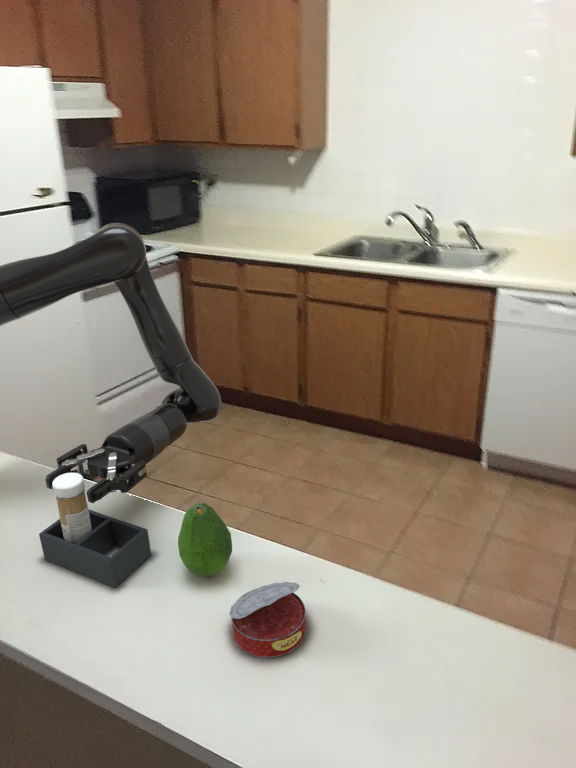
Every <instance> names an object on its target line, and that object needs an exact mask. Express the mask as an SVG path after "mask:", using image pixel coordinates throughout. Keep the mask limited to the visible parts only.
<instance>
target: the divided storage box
mask: <svg viewBox="0 0 576 768" xmlns="http://www.w3.org/2000/svg"><path fill="white" fill-rule="evenodd" d="M88 510H89V515H90V520H91V526H92V531H91V532H90V533H89V534H87V535H86V536H85V537H83V538H82V539H81V540H80V541H78V542H77V543H76V544H74V543H71V542H69V541H66V540H65V539H64V536H63V531H62V526H61V521H60V518H58V519H57V520H56V521H54V522H53V523H51V524H50V525H49V526H47V527H46V528H45V529H43V530H42V531H41V532H40V533H38V536H39V541H40V545H41V549H42V555H43V558H44V560H45V561H47V562H50V563H52V564H53V565H54V564H55V565H57V566H59V567H62V568H63V569H67V570H70V571H71V572H74V573H77V574H79V575H81V576H84V577H87V578H89V579H92V580H94V581H97V582H99V583H102V584H104V585H107V586H109V587H112V588H114V589H116V588H117V587H118V586H119V585H120V584H122V583H123V582H124V581H125V580H127V578H128V577H130V575H132V574H133V573H134V572H135V570H137V569H138V568H139V567H140V566H141V565H142V564H143V563H145V562H147V560H148V559H149V558H150V557H152V550H151V544H150V537H149V530H148V528H145V527H142V526H139V525H135V524H133V523H130V522H127V521H124V520H121V519H119V518H115V517H113V516H109V515H106V514H103V513H101V512H98V511H95V510H92V509H89V508H88ZM114 547H117V548H119V549H118V550H116V552H114V553H113V554H112V555H111V556H109V555H105V554H106V553H108V552H109V551H110V550H112V548H114Z"/></svg>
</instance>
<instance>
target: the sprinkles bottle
mask: <svg viewBox="0 0 576 768" xmlns="http://www.w3.org/2000/svg"><path fill="white" fill-rule="evenodd" d="M52 486H53V489H52V491H53V494H54V497H56V498H55V499H56V504H57V508H58V515H59V519H60V521H61V526H62V531H63V536H64V539H65V540H66V541H69V542H71V543H74V544H76V543H77V542H78V541H80V540H81V539H82V538H83V537H85V536H86V535H87V534H89V533H90V532H91V531H92V526H91V520H90V515H89V510H90V509H89V505H88V500H87V495H86V484H85V479H84V477H83V476H82V475H80V474H78V473H65V474H62V475H60V476H58V477H57V478H55V479H54V481H53V483H52ZM88 509H89V510H88Z"/></svg>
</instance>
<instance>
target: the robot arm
mask: <svg viewBox="0 0 576 768" xmlns="http://www.w3.org/2000/svg"><path fill="white" fill-rule="evenodd" d="M146 248H147V247H146V244H145V241H144V239H143V237H142V235H141V234H140V232H138V230H137V229H135V228H134V227H133V226H131V225H129V224H126V223H123V222H110V223H108V224H105V225H104V226H102V227H101V228H99V230H97V231H96V232H95V233H94V234H93V235H90V236H89V237H87V238H85V239H83V240H81V241H78V242H77V243H74V244H72V245H71V246H68V247H66V248H63V249H60V250H59V251H56V252H53V253H48V254H44V255H38V256H34V257H27V258H23V259H19V260H15V261H12V262H11V261H10V262H7V263H4V264H1V265H0V327H1V326H4V325H7V324H10V323H12V322H14V321H15V322H16V321H17V320H20V319H23V318H25V317H27V316H30V315H32V314H34V313H36V312H39V311H42V310H43V309H45V308H48V307H50V306H52V305H53V304H56V303H58V302H60V301H61V300H64V299H65V298H68V297H70V296H72V295H75V294H78V293H80V292H84V291H87V290H90V289H94V288H97V287H101V286H105V285H108V284H113V283H114V285H115V286H116V288H117V289H118V291H119V292H120V294H121V296H122V299H123V300H124V301H125V303H126V306H127V307H128V310H129V312H130V314H131V316H132V318H133V321H134V324H135V326H136V329H137V331H138V335H139V337H140V339H141V342H142V344H143V346H144V348H145V350H146V352H147V354H148V356H149V358H150V361H151V362H152V365H153V367H154V368H155V370H156V373H157V375H158V376H159V378H160V379H161V380H162V382H165V383H167V384H173V385H176V386H178V387H179V388H176V389H174V390H173V391H171V392H169V393H168V394H166V395H165V397H163V399H162V400H161V401H160V402H159V403H158V405H157V406H155V407H154V408H152V409H150V410H149V411H148V412H147V411H146V413H144V414H142V415H140V416H138V417H135V418H134V419H132V420H131V421H129V422H127V423H126V424H124V425H123V426H121V427H119V428H118V429H117V430H115V431H113V432H112V433H110V434H108V436H106V438H105V439H104V441H103V443H102V445H100V447H98V448H95V449H92V450H91V449H88V446H87V444H85V443H81V444H79V445H78V446H76V447H74V448H72V449H71V450H69V451H67V452H65V453H64V454H62V455H60V456H58V457H56V464H57V468H56V469H55V470H53V471H52V472H50V473H49V474H47V475H46V476H45V484H46V488H47V489H49V490H53V486H52V483H53V481H54V479H55V478H57V477H58V476H60V475H62V474H65V473H78V474H80V475H82V476H83V478H86V477H90V476H94V477H96V476H97V477H99V478H101V480H99V481H98V482H97V483H95V484H94V485H92V486H91V487H90V488H87V490H86V499H87V503H90V504H94V503H96V502H97V501H101V499H103V498H105V497H106V496H107V495H108V494H111V493H116V492H117V491H120V493H121V494H127V493H129V491H131V490H132V489H133V488H134V487H136V485H138V484H139V483H140V482H141V481H143V480H144V479H145V478H146V477H147V475H148V473H147V466H146V465H147V464H148V463H150V462H151V461H153V460H154V459H155V458H156V457H158V456H159V455H160V454H161V453H163V452H164V451H165V450H166V449H167V448H168V447H169V446H171V445H172V444H173V443H175V442H176V441H177V440H179V438H181V437H182V436H183V435H184V434H185V432H186V431H187V427H188V425H189V424H196V423H203V422H210V421H213V420H215V419H216V418H218V416H219V415H220V413H221V411H222V407H223V406H222V405H223V404H222V396H221V393H220V392H219V389H218V387H217V385H216V384H214V382H213V380H211V378H210V377H209V376H208V375H207V374H206V372H205V371H204V370H203V369H202V368H201V366H199V365H198V363H197V362H196V360H194V358H193V356H192V353H191V351H190V349H189V347H188V345H187V343H186V340H185V339H184V336H183V335H182V332H181V331H180V329H179V327H178V325H177V323H176V322H175V320H174V318H173V316H172V314H171V313H170V311H169V309H168V307H167V306H166V303H165V301H164V300H163V297H162V296H161V293H160V291H159V289H158V287H157V285H156V282H155V280H154V277H153V274H152V271H151V268H150V265H149V262H148V261H149V260H148V257H147V249H146ZM85 463H86V465H87V469H85V468H84V464H85ZM76 467H77V469H74V468H76ZM72 469H73V470H72Z"/></svg>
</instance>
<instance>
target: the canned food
mask: <svg viewBox="0 0 576 768" xmlns="http://www.w3.org/2000/svg"><path fill="white" fill-rule="evenodd" d="M300 587H301V585H300V584H299V583H297V582H290V581H284V582H274V583H271V584H267V585H262V586H260V587H257V588H254V589H251V590H249V591H247V592H246V593H244V594H243V595H241V596H240V597H239V598H237V600H236V601H235V602H234V603H233V604H232V605H231V607H230V610H229V613H228V614H229V616H230V617H231V622H232V637H233V639H234V642H235V644H236V645H237V647H239V648H240V649H241V650H242V651H243V652H245V653H247V654H248V655H251V656H254V657H258V658H265V659H268V658H269V659H270V658H278V657H281V656H285V655H287V654H288V653H291V652H293V651H294V650H295V649H297V648H298V646H300V645H301V644H302V642H303V641H304V639H305V637H306V633H307V623H306V622H307V621H306V620H307V619H306V617H307V616H306V611H307V609H306V606H305V603H304V601H303V599H301V597H300V596H299V595H298V594H296V591H298V590H299V589H300Z"/></svg>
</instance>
